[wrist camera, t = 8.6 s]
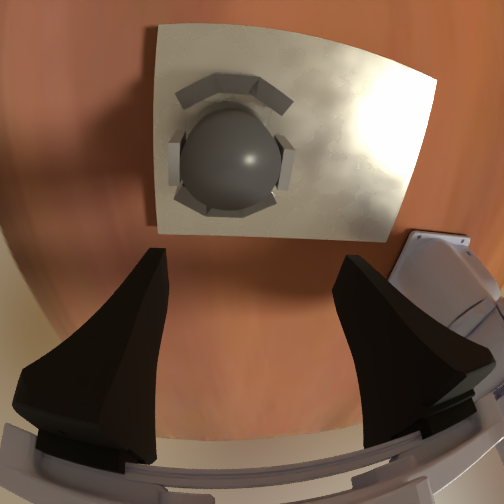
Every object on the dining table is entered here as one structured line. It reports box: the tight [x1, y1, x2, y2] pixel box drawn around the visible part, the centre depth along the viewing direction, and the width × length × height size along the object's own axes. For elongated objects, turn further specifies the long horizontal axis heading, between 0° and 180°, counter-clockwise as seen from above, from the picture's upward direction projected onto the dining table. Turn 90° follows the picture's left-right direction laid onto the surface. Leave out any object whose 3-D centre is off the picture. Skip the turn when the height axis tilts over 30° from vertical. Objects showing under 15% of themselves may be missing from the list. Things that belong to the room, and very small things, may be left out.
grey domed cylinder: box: [168, 102, 296, 211], centre depth 14 cm, size 5×4×5 cm
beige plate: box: [153, 23, 437, 243], centre depth 16 cm, size 18×14×4 cm
